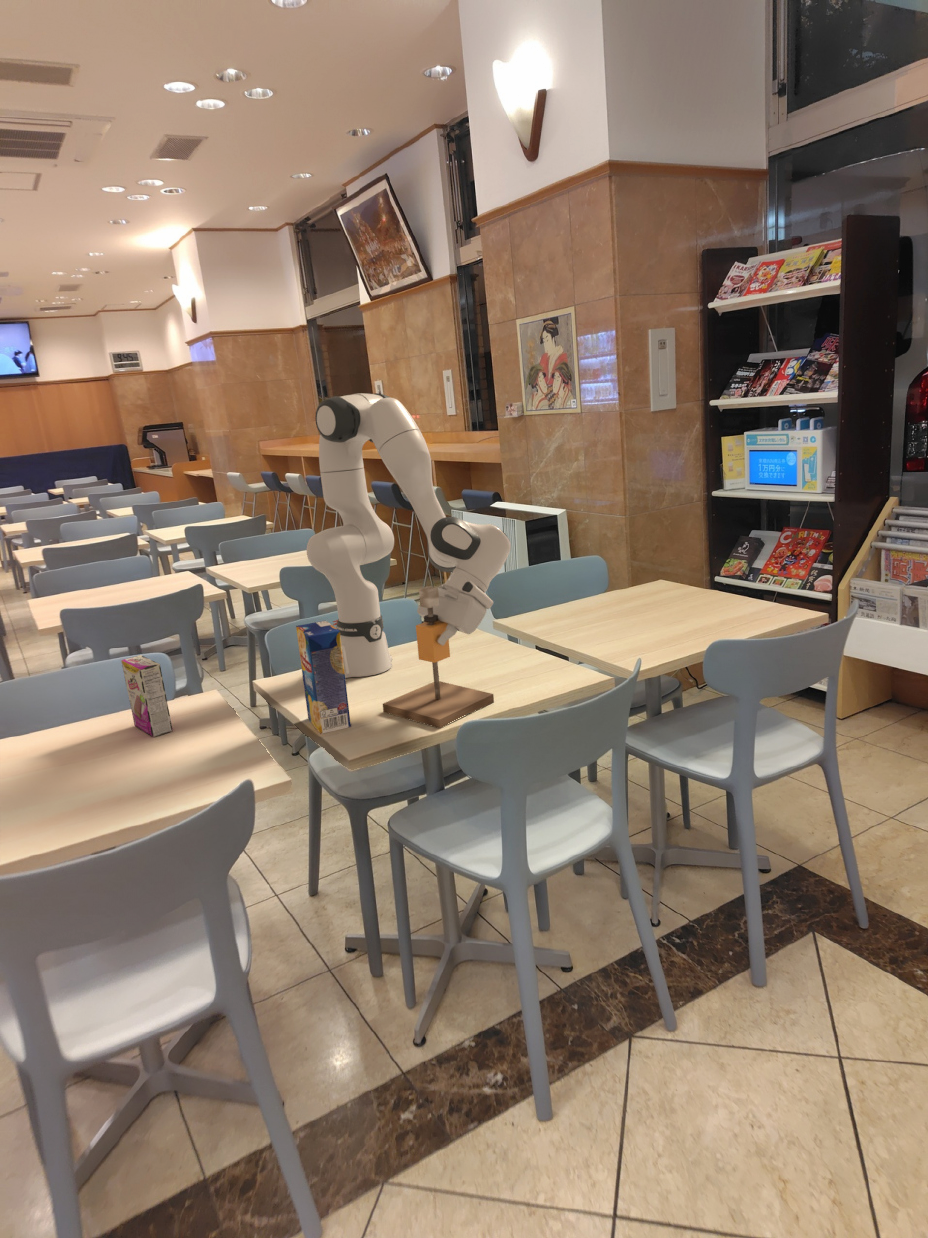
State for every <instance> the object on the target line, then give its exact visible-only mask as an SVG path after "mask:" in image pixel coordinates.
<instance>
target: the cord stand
mask: <svg viewBox="0 0 928 1238" xmlns="http://www.w3.org/2000/svg"><path fill="white" fill-rule="evenodd" d="M438 587H439V586H430V585H429V586H428V585H427V586H425V587H422V588H421V587H420V588H419V589H418V597H419V605H420V607H426V608H427V609H428V615H426V616H424V618H423V623H424V622H427V623H429V625H434V622H436V621H438V615H435V614H433V607H435V606H438V605H439V594H438ZM438 662H439V661H438ZM438 662H436V663H433V662H431V664H432V675H433V676H432V677H433V682H430V683H428V684H426V685H423V686H421V687H419V688H416V689H414V690H412V691H410V692H407V693H404V694H403V695H400V696H398V697H395V698H393V699H391V700H388V701H386V702H384V703H382V710H383V711H382V712H383V713H385V712H386V713H385V714H389V713H390V714H389V715H392V714H393V716H396V715H397V716H396V717H399V716H400V718H404V719H406V720H409V719H410V720H409V721H413V720H414V722H416V721H417V723H420V722H421V723H420V724H423V723H425V724H424V725H427V724H428V725H427V726H430V725H432V726H431V727H434V726H435V727H434V728H437V727H438V729H442V728H444V727H446V726H448V725H449V724H448V723H450V722H452V721H454V720H456V719H458V718H460V717H462V716H464V715H466V714H468V713H471V712H473V713H475V712H476V711H475V710H477V711H479V710H481V709H483V708H485V707H487V706H489V705H491V704H493V703H495V699H494V698H495V697H494V696H495V695H494V693H491V692H487V691H482V690H479V689H473V688H470V687H465V686H462V685H459V684H453V683H449V682H444V681H440V676H439V673H440V672H439V663H438ZM480 708H481V709H480ZM478 709H479V710H478ZM474 711H475V712H474ZM471 714H472V713H471ZM462 718H463V717H462ZM460 719H461V718H460ZM458 720H459V719H458ZM456 721H457V720H456ZM454 722H455V721H454ZM452 723H453V722H452ZM447 724H448V725H447ZM450 724H451V723H450ZM445 725H446V726H445ZM443 726H444V727H443Z"/></svg>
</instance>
